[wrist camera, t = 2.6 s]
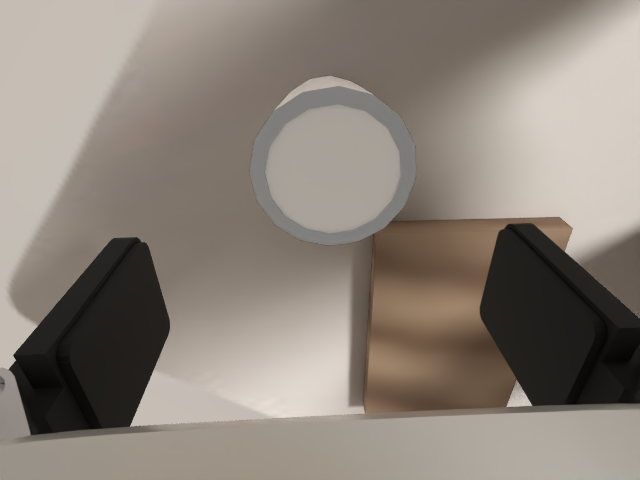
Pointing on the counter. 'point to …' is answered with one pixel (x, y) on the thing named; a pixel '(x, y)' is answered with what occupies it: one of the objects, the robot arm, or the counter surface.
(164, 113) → the counter surface
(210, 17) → the counter surface
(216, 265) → the counter surface
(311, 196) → the shot glass
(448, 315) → the walnut board
